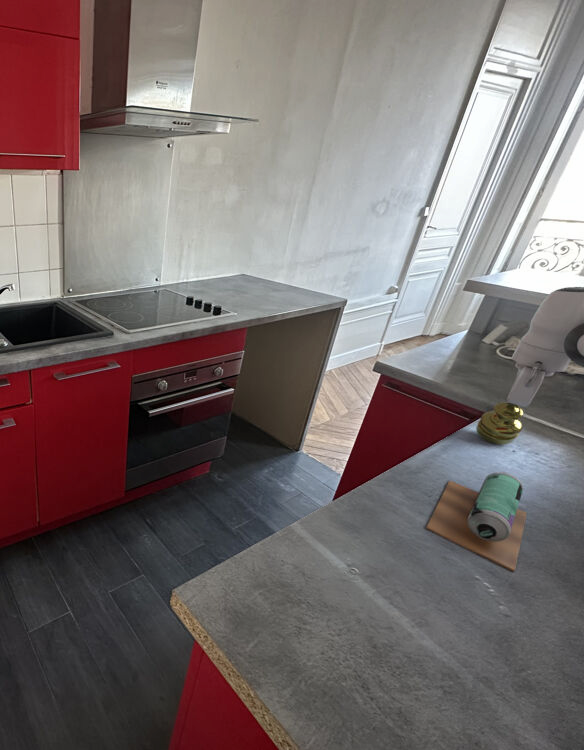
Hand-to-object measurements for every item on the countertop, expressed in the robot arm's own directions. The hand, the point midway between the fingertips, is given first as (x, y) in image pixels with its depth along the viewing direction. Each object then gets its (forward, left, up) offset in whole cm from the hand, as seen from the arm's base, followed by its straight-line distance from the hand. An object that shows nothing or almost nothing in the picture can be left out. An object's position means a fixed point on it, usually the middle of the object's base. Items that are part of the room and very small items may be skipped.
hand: (511, 409), depth 100 cm
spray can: (+7, +28, -5) cm, 29 cm away
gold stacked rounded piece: (0, 0, -7) cm, 7 cm away
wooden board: (+12, +39, -9) cm, 41 cm away
